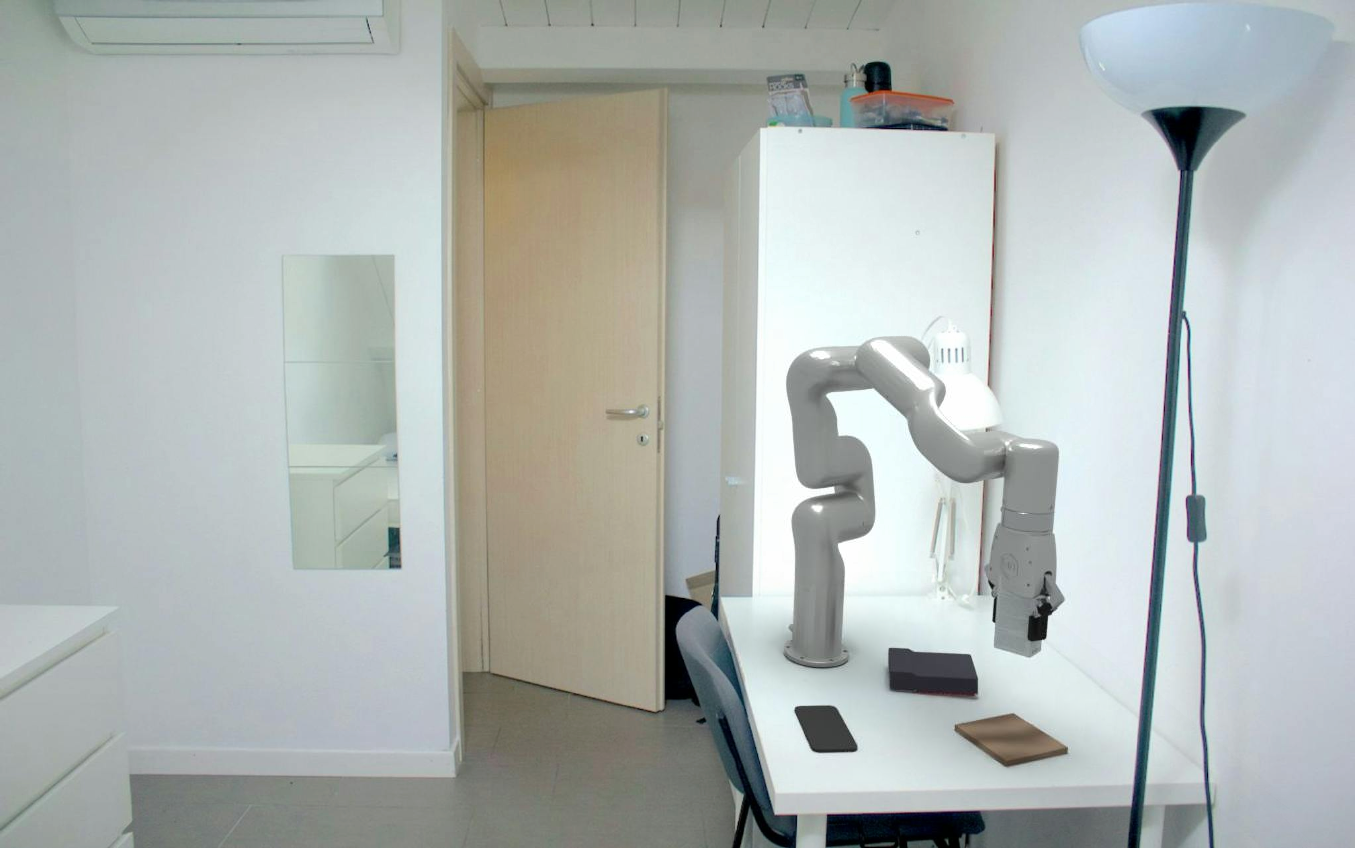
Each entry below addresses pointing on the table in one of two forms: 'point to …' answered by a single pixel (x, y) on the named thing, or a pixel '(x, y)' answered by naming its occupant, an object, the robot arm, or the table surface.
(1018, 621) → the skincare box
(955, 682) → the dark gray stepped block
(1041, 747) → the walnut pad
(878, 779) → the table surface
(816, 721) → the phone
